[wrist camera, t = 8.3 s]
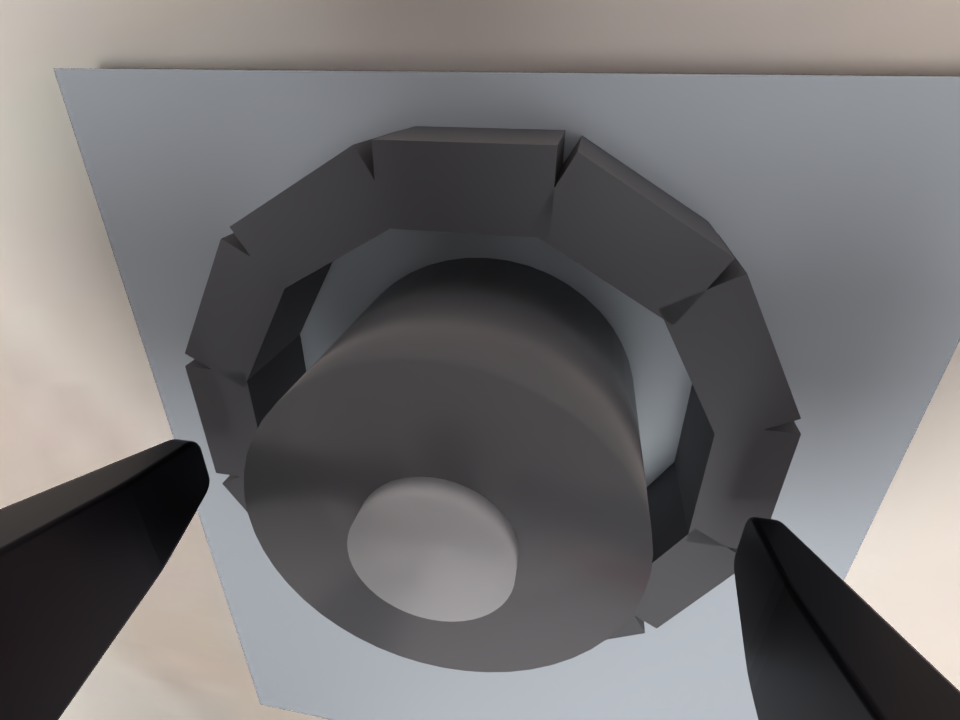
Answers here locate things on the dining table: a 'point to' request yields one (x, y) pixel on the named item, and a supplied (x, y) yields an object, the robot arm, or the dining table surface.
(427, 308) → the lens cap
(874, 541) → the dining table surface
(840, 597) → the robot arm
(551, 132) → the barrel board
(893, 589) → the dining table surface
